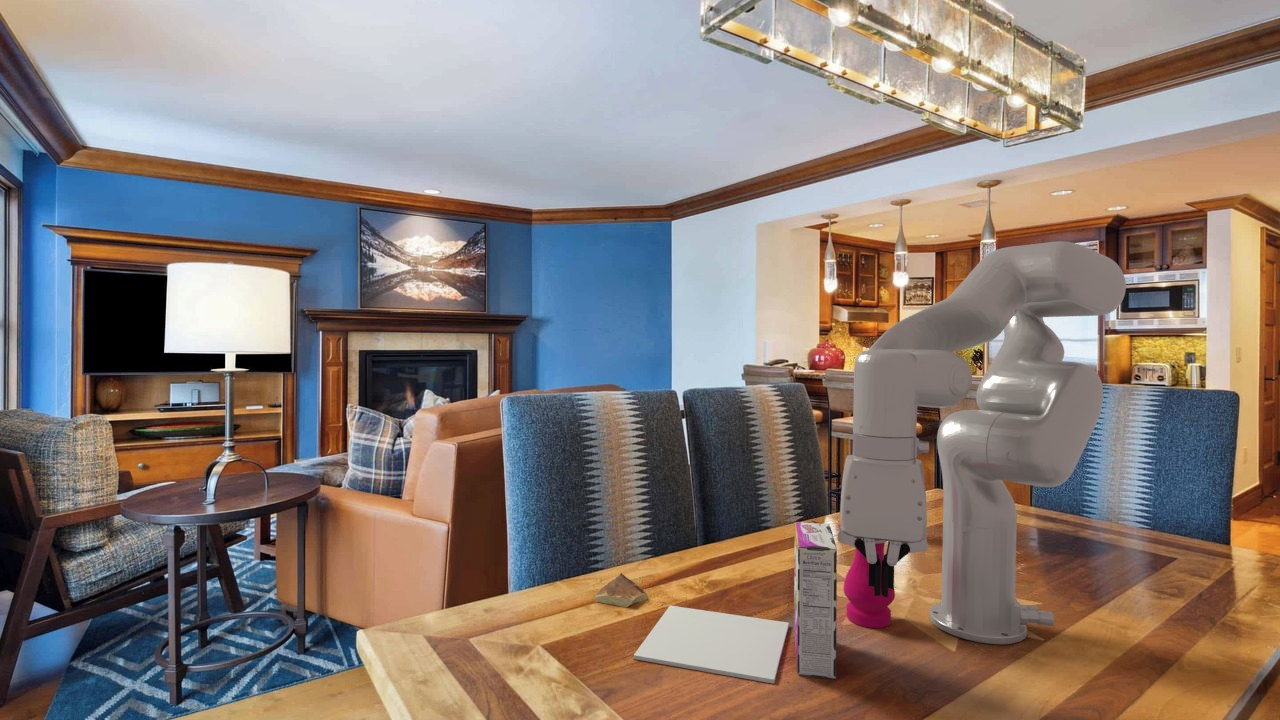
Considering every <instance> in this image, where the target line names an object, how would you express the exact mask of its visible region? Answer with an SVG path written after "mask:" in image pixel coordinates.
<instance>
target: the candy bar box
mask: <svg viewBox="0 0 1280 720" xmlns="http://www.w3.org/2000/svg"><path fill="white" fill-rule="evenodd" d="M835 541H836V540H835V538H834V534H833V530H832V528H831V525H830V523H822V522H818V523H817V522H806V521H796V522H794V565H793V566H794V567H793V568H794V569H793V570H794V571H793V572H794V573H793V574H794V577H793V579H794V580H793V581H794V582H793V583H794V585H793V586H794V587H793V588H794V589H793V594H794V595H793V599H794V600H793V602H794V603H793V607H794V608H793V609H794V612H793V613H794V615H793V616H794V618H793V619H794V645H795V646H794V649H795V659H796V669H797V675H798V676H802V677H808V678H809V677H810V678H812V677H813V678H821V679H822V678H824V679H830V680H836V679H837V625H838V624H837V621H838V620H837V599H838V598H837V596H838V595H837V594H838V593H837V588H838V587H837V586H838V585H837V584H838V582H837V579H838V578H837V576H838V575H837V572H838V571H837V565H838V564H837V559H838V554H837V553H838V549H837V545H836V542H835Z"/></svg>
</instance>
